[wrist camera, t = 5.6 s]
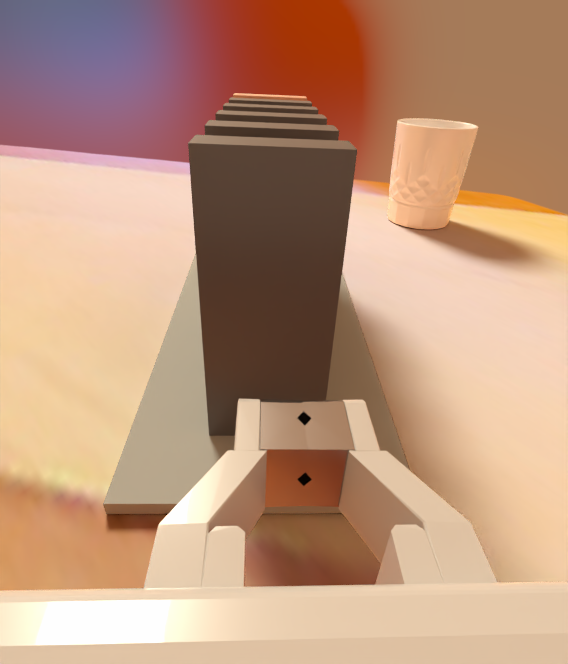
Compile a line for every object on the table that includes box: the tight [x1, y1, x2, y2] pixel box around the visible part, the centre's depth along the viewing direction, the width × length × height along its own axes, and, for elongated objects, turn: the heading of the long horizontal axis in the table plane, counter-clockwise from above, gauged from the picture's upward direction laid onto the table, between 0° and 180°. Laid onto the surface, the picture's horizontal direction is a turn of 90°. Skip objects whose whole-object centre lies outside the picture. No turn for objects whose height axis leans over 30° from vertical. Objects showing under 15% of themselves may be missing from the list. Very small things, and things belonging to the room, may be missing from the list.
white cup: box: [387, 118, 478, 230], centre depth 46 cm, size 8×8×10 cm
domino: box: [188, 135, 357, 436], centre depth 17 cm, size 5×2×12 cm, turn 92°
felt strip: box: [103, 254, 410, 514], centre depth 28 cm, size 12×28×1 cm, turn 2°
